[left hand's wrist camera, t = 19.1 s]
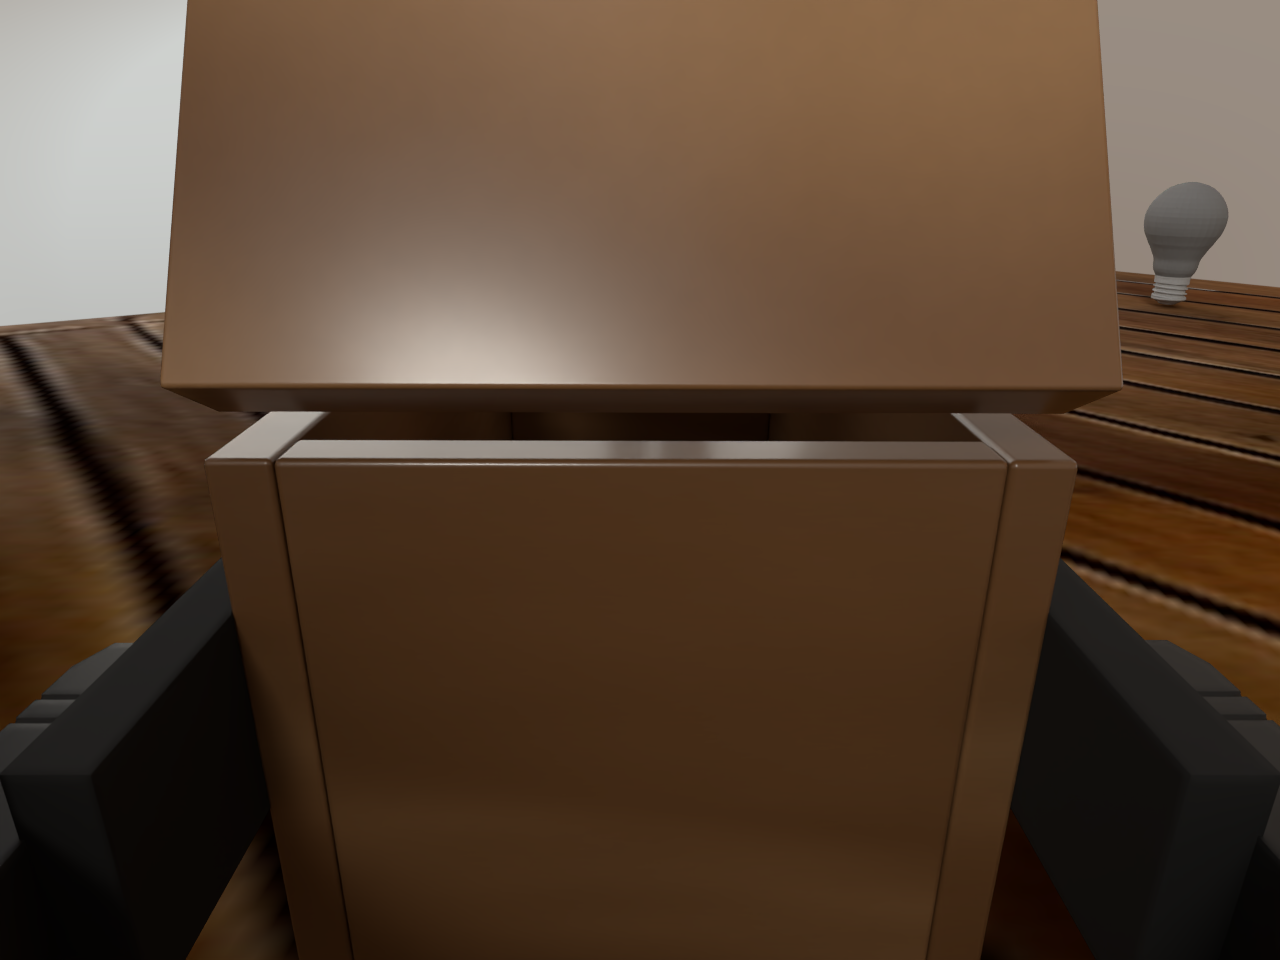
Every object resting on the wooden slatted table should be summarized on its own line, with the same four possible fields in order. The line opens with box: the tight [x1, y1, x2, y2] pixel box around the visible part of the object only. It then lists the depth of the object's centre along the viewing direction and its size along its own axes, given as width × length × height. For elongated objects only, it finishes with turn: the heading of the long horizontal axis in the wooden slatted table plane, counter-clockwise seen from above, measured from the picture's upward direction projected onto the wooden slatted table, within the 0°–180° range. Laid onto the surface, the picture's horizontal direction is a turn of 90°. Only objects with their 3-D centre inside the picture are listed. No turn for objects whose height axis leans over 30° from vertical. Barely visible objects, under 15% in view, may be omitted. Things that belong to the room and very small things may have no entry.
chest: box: [204, 412, 1077, 960], centre depth 18 cm, size 17×9×10 cm, turn 0°
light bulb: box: [1144, 182, 1228, 305], centre depth 74 cm, size 6×6×10 cm
